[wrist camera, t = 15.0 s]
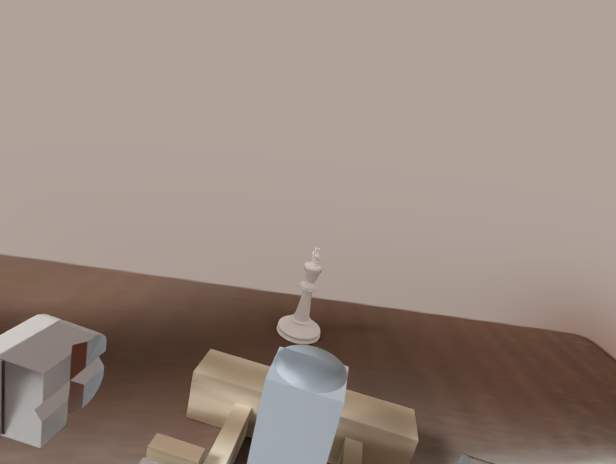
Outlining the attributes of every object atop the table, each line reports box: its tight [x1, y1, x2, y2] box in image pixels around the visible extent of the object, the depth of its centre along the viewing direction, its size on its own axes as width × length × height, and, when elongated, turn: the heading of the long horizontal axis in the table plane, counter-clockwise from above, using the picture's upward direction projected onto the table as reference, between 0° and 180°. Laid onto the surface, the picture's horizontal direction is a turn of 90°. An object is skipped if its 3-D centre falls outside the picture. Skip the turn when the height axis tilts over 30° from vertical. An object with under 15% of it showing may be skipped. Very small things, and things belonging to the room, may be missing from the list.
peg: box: [247, 345, 349, 464], centre depth 22 cm, size 4×4×10 cm
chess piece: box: [277, 248, 323, 344], centre depth 42 cm, size 5×5×10 cm
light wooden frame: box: [146, 349, 419, 464], centre depth 24 cm, size 12×16×4 cm
